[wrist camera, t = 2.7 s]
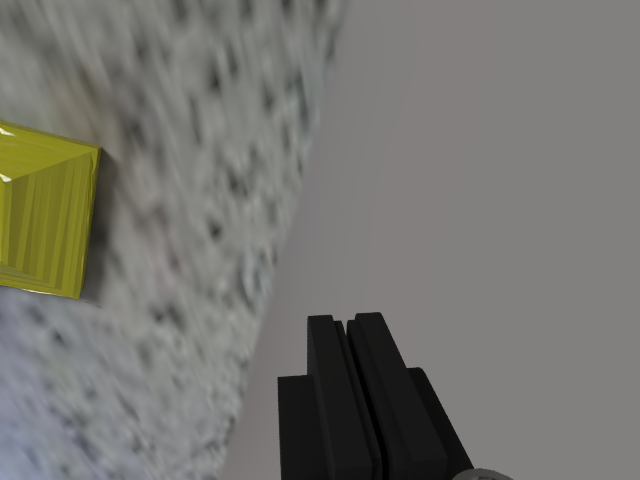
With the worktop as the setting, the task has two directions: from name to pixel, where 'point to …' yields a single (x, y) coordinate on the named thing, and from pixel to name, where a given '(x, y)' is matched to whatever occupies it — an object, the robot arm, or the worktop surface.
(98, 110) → the worktop surface
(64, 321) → the worktop surface
